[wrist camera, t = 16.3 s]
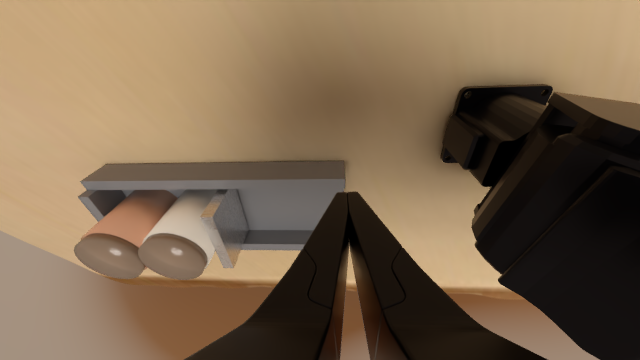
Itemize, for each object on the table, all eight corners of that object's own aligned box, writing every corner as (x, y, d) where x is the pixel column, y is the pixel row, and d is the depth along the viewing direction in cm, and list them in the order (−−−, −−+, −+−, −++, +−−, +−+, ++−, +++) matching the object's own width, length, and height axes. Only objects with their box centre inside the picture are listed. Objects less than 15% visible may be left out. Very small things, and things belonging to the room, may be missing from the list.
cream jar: (225, 184, 23) (190, 239, 18) (239, 223, 26) (214, 280, 21) (172, 185, 24) (122, 239, 18) (193, 223, 27) (155, 280, 21)
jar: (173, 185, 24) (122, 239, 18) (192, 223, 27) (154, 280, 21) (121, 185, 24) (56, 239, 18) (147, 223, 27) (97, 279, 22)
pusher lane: (343, 160, 22) (345, 186, 19) (342, 229, 28) (343, 258, 25) (106, 164, 24) (70, 188, 20) (149, 229, 29) (126, 256, 26)
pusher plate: (233, 180, 23) (212, 217, 19) (248, 229, 27) (233, 268, 23) (223, 180, 23) (199, 217, 19) (240, 229, 27) (223, 268, 23)
